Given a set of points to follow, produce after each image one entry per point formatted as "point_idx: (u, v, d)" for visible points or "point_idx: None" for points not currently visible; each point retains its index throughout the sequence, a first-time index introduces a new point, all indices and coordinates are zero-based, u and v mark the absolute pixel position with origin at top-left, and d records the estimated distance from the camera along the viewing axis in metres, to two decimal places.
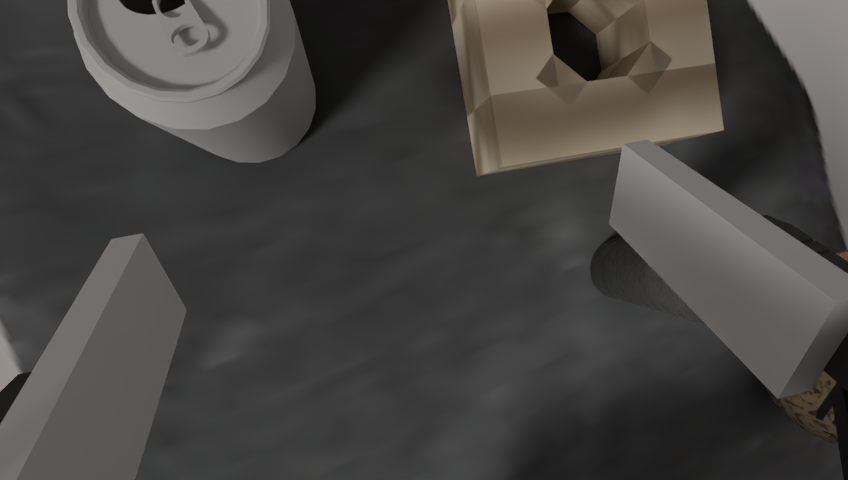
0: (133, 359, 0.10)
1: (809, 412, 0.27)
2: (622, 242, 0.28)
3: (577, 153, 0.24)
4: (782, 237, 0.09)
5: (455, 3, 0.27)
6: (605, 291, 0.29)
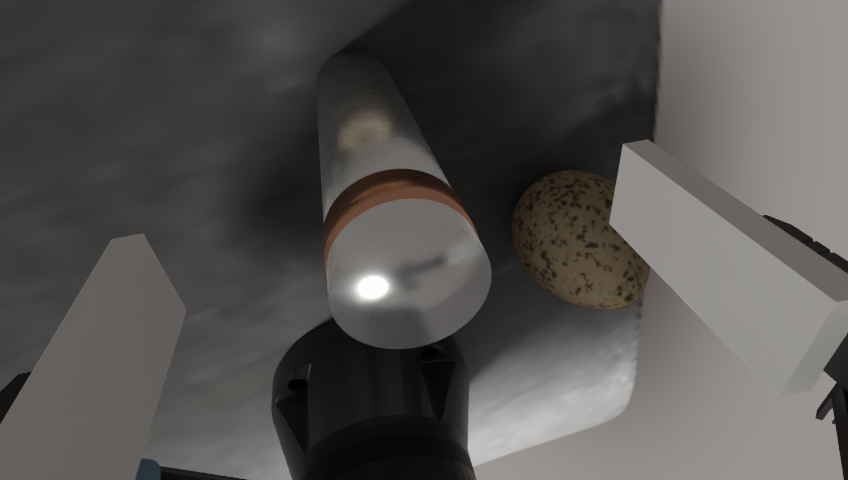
0: (133, 359, 0.10)
1: (524, 263, 0.26)
2: (338, 63, 0.21)
3: None
4: (782, 237, 0.09)
5: None
6: None
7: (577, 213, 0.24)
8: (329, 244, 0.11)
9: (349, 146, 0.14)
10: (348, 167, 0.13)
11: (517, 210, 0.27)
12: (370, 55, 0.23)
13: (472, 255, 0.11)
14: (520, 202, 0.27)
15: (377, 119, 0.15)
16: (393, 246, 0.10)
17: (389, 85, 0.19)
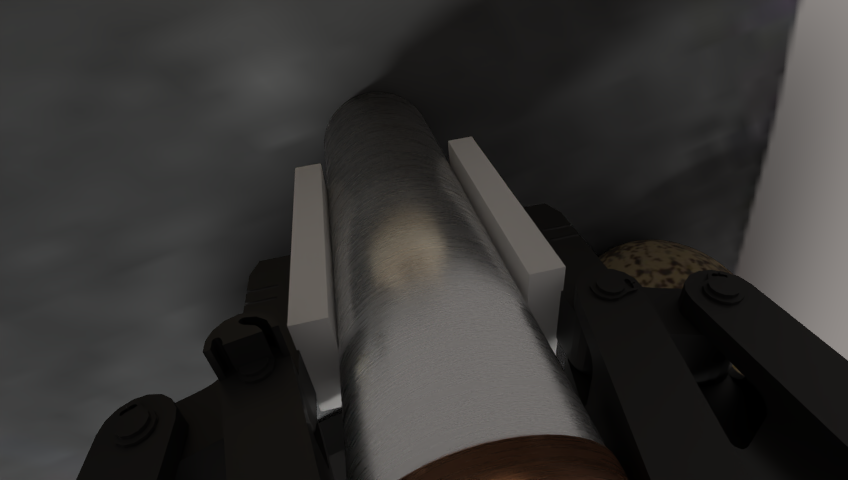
0: None
1: None
2: (358, 116, 0.15)
3: None
4: (524, 221, 0.10)
5: None
6: None
7: None
8: None
9: (394, 328, 0.07)
10: (399, 395, 0.07)
11: None
12: (400, 100, 0.16)
13: None
14: None
15: (436, 254, 0.09)
16: None
17: (436, 158, 0.13)
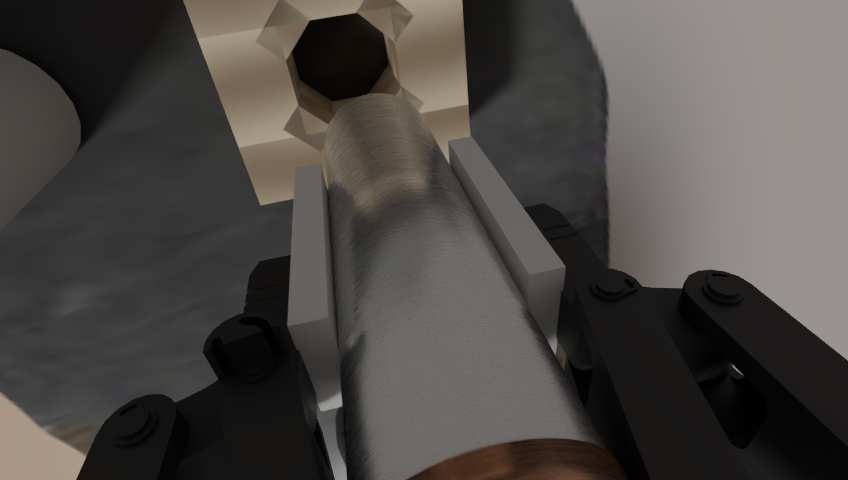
0: None
1: None
2: (358, 117, 0.15)
3: None
4: (524, 221, 0.10)
5: None
6: None
7: None
8: None
9: (395, 330, 0.07)
10: (399, 397, 0.07)
11: None
12: (401, 101, 0.16)
13: None
14: None
15: (437, 257, 0.09)
16: None
17: (437, 160, 0.13)
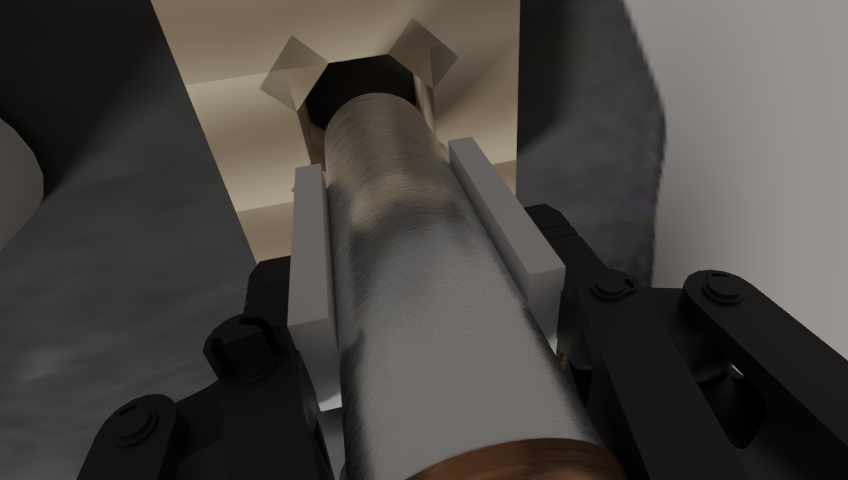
0: None
1: None
2: (358, 116, 0.15)
3: None
4: (523, 221, 0.10)
5: None
6: None
7: None
8: None
9: (395, 330, 0.07)
10: (399, 396, 0.06)
11: None
12: (401, 100, 0.16)
13: None
14: None
15: (437, 256, 0.09)
16: None
17: (437, 159, 0.13)
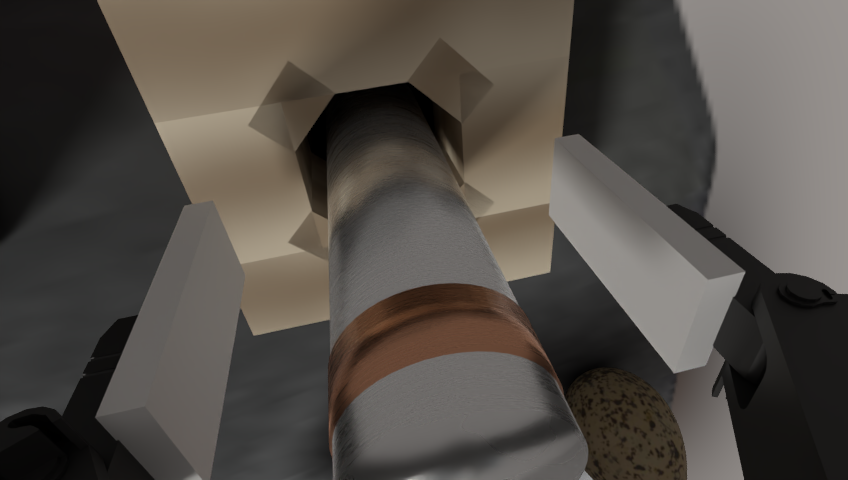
0: (213, 310, 0.11)
1: None
2: None
3: None
4: (676, 222, 0.10)
5: None
6: None
7: (626, 434, 0.28)
8: (337, 412, 0.07)
9: (368, 228, 0.10)
10: (367, 267, 0.09)
11: (569, 407, 0.32)
12: None
13: (563, 443, 0.07)
14: (572, 399, 0.32)
15: (405, 182, 0.11)
16: (442, 443, 0.06)
17: (417, 120, 0.15)
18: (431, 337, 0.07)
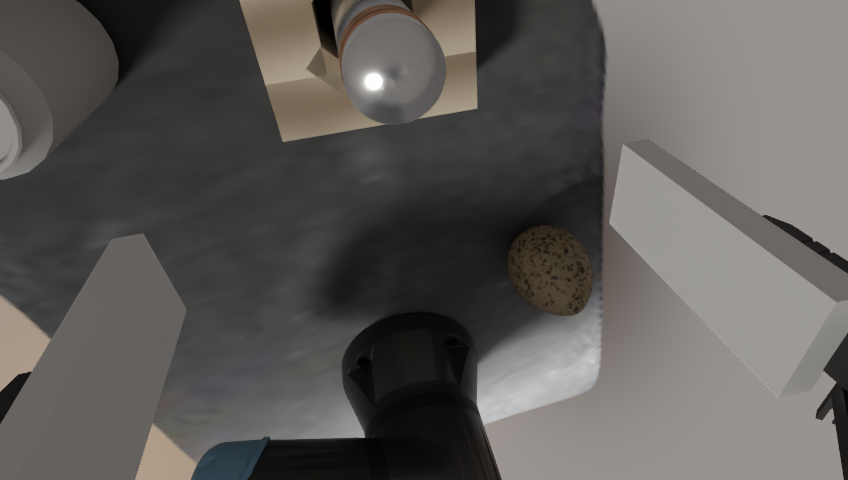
0: (133, 359, 0.10)
1: (515, 285, 0.42)
2: None
3: (347, 129, 0.30)
4: (782, 237, 0.09)
5: None
6: None
7: (547, 257, 0.39)
8: (343, 45, 0.18)
9: (356, 3, 0.20)
10: (355, 10, 0.19)
11: (511, 250, 0.42)
12: None
13: (432, 49, 0.17)
14: (513, 245, 0.42)
15: None
16: (383, 36, 0.17)
17: None
18: (380, 10, 0.17)
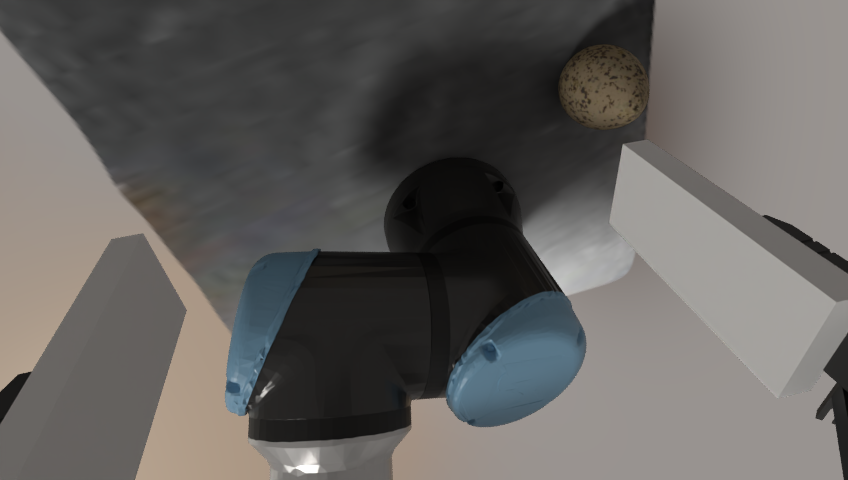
0: (133, 359, 0.10)
1: (568, 103, 0.41)
2: None
3: None
4: (782, 237, 0.09)
5: None
6: None
7: (605, 61, 0.38)
8: None
9: None
10: None
11: (563, 71, 0.42)
12: None
13: None
14: (565, 66, 0.42)
15: None
16: None
17: None
18: None
